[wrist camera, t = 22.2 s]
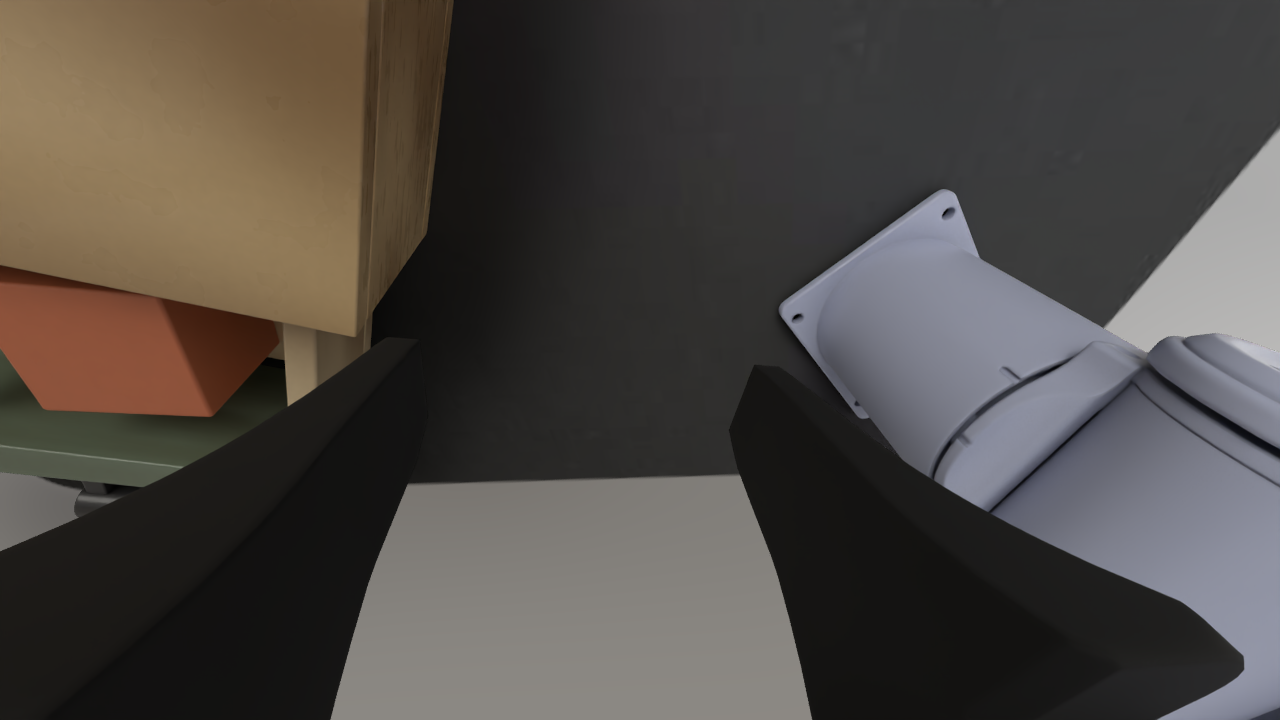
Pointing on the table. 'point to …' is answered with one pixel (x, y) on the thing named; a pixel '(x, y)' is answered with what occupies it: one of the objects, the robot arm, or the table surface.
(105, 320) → the block
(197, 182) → the cabinet
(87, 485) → the drawer
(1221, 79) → the table surface
